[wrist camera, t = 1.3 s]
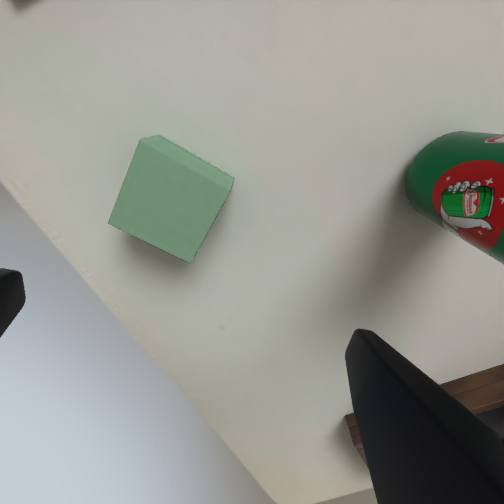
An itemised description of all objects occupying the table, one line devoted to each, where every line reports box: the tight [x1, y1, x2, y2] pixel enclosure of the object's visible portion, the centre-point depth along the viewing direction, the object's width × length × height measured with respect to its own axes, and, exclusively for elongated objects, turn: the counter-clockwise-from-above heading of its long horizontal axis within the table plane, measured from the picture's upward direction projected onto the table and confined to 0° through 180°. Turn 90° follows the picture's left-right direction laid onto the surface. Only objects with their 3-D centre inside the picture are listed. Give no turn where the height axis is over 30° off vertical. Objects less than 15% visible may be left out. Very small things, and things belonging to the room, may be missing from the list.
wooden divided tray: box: [345, 364, 504, 469], centre depth 25 cm, size 15×8×4 cm, turn 118°
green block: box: [108, 135, 234, 263], centre depth 17 cm, size 5×5×3 cm
